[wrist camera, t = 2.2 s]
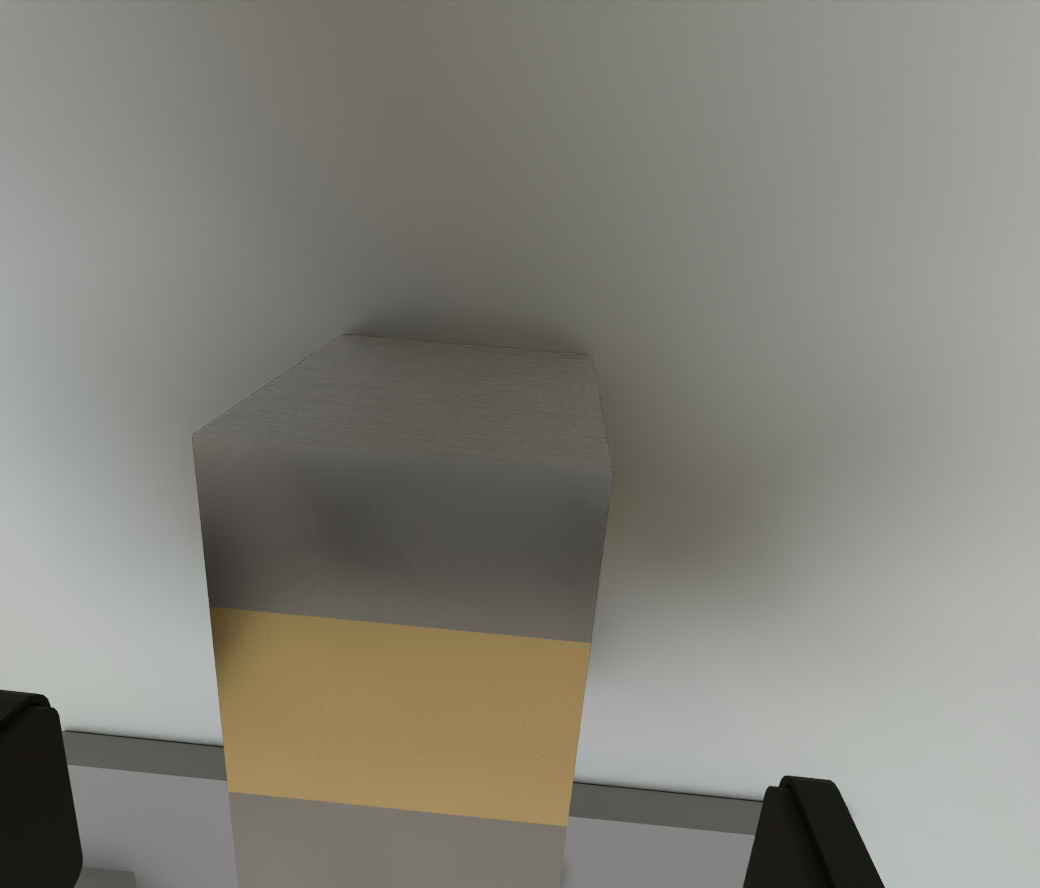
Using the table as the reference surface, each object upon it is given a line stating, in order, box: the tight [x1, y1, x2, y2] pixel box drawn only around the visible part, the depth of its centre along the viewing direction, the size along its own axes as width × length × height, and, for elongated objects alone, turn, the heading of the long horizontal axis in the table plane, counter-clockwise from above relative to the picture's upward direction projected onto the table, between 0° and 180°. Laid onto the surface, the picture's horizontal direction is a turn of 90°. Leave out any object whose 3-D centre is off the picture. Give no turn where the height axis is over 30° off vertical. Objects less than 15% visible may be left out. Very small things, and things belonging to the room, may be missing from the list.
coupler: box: [192, 334, 613, 888], centre depth 12 cm, size 8×5×6 cm, turn 176°
